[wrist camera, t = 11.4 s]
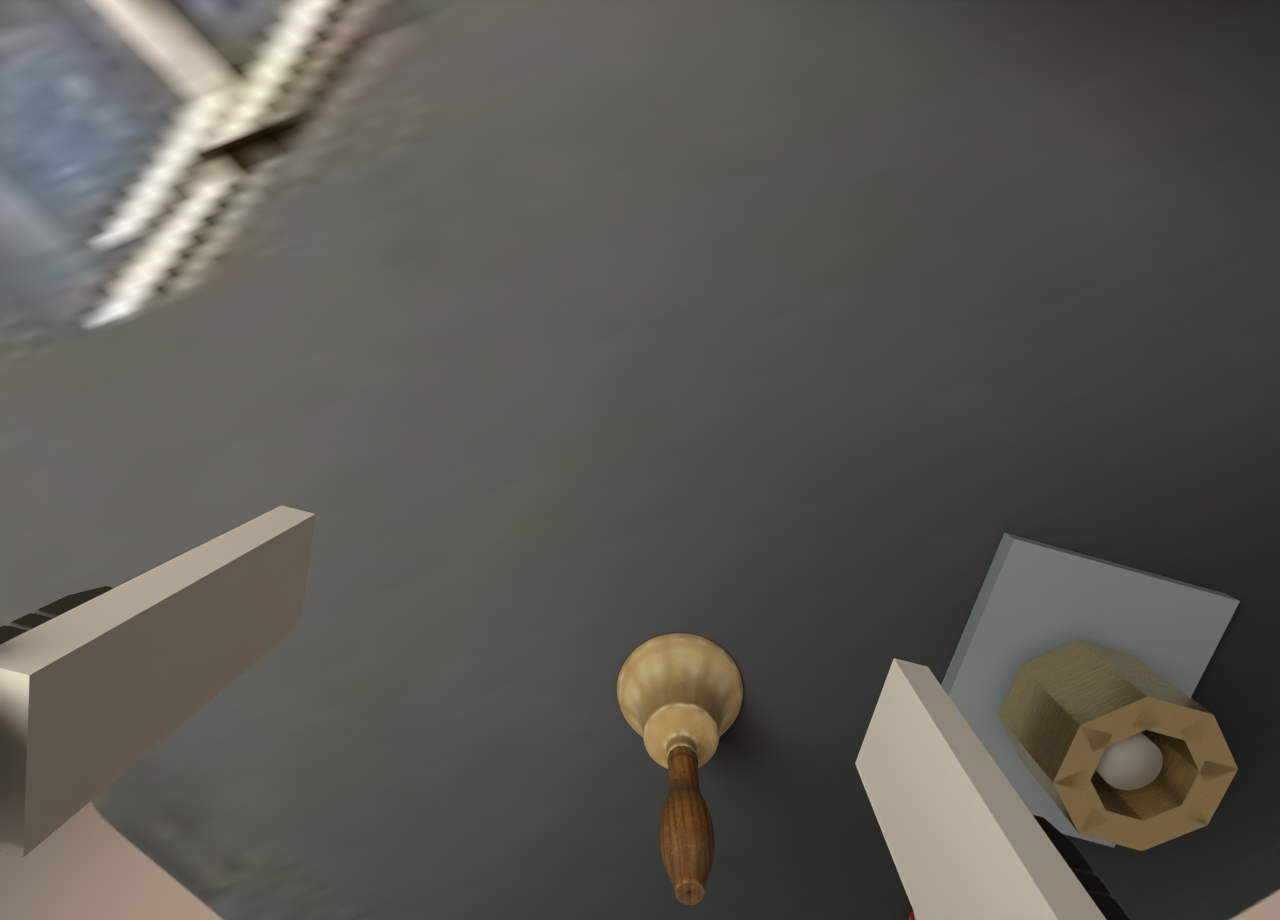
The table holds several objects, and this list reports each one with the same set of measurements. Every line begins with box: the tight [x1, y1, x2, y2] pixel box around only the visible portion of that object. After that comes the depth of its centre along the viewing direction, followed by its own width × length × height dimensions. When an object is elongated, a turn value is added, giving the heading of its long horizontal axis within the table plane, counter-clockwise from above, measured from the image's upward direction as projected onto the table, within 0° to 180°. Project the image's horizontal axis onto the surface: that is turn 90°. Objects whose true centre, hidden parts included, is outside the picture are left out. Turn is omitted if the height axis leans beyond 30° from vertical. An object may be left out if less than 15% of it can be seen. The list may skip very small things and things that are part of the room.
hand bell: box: [617, 633, 743, 905], centre depth 36 cm, size 8×8×16 cm
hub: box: [998, 640, 1238, 851], centre depth 38 cm, size 8×8×6 cm
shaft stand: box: [941, 532, 1240, 848], centre depth 39 cm, size 18×14×7 cm
